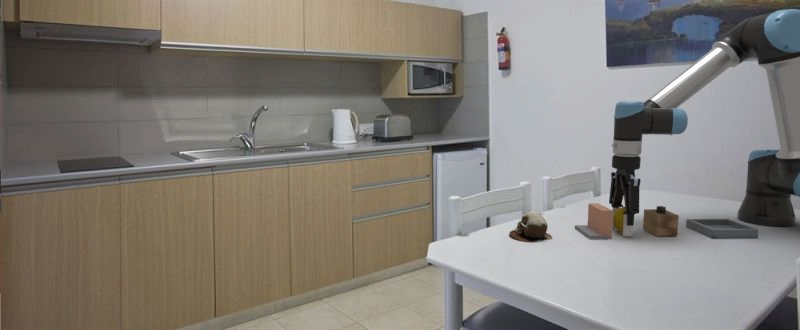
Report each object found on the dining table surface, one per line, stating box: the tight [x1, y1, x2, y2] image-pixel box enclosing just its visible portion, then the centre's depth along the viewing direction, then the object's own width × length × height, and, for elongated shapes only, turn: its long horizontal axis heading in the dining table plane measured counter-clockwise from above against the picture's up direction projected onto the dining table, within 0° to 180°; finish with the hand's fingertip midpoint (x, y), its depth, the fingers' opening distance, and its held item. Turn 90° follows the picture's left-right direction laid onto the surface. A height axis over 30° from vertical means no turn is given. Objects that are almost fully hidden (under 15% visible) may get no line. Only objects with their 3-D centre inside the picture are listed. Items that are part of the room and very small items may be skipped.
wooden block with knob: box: [642, 205, 680, 237], centre depth 149 cm, size 6×8×8 cm
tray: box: [685, 218, 759, 240], centre depth 149 cm, size 13×13×2 cm
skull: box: [509, 210, 553, 243], centre depth 146 cm, size 12×10×10 cm
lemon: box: [613, 206, 626, 234], centre depth 149 cm, size 6×6×8 cm
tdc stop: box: [574, 202, 613, 240], centre depth 149 cm, size 6×12×8 cm, turn 1°
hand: (621, 232), depth 149 cm, fingers open, 7 cm apart
